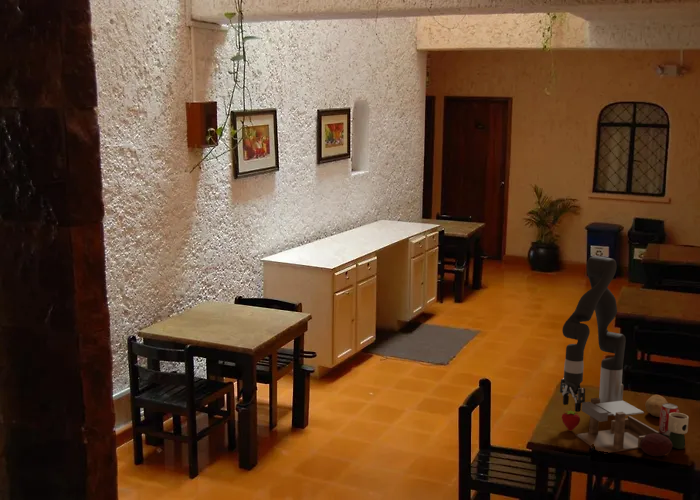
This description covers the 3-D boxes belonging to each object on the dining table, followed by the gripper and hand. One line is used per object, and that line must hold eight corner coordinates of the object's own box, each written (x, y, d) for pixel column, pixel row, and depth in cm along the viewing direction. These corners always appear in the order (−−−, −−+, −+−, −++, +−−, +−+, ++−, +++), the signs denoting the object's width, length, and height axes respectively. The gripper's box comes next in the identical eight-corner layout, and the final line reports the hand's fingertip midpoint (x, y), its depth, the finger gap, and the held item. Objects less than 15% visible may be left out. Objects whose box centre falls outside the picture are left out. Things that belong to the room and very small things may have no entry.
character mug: (682, 454, 291) (684, 422, 289) (662, 449, 295) (665, 417, 293) (689, 444, 299) (692, 413, 297) (670, 440, 304) (673, 409, 302)
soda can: (654, 431, 312) (656, 403, 311) (668, 429, 315) (670, 401, 313) (667, 438, 306) (669, 409, 304) (681, 435, 308) (683, 407, 306)
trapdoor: (622, 405, 309) (623, 397, 309) (643, 416, 297) (644, 408, 297) (580, 410, 304) (581, 402, 303) (600, 422, 291) (601, 413, 291)
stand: (629, 428, 315) (631, 393, 313) (658, 445, 298) (661, 409, 296) (575, 435, 308) (577, 400, 305) (602, 453, 291) (604, 416, 288)
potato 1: (643, 419, 326) (644, 401, 324) (645, 408, 338) (646, 391, 337) (668, 423, 322) (669, 405, 320) (669, 411, 334) (670, 394, 333)
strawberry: (577, 435, 308) (578, 411, 307) (559, 431, 312) (560, 408, 311) (581, 430, 313) (582, 407, 312) (563, 426, 317) (564, 403, 316)
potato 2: (669, 451, 294) (671, 430, 292) (673, 463, 283) (675, 442, 282) (638, 447, 297) (639, 427, 295) (641, 459, 286) (642, 438, 285)
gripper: (592, 374, 303) (589, 413, 305) (571, 364, 316) (569, 401, 319) (575, 376, 301) (573, 414, 303) (556, 365, 314) (553, 402, 317)
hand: (571, 407), depth 311 cm, fingers open, 8 cm apart
